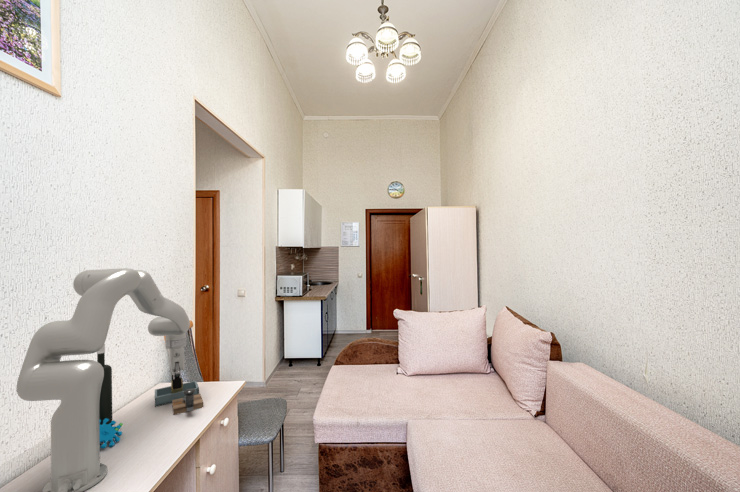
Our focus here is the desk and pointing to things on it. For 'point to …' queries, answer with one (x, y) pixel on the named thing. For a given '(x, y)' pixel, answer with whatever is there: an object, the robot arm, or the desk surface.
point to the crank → (189, 398)
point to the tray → (165, 396)
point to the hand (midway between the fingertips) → (176, 385)
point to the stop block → (176, 389)
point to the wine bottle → (105, 389)
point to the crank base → (181, 406)
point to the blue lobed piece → (109, 433)
